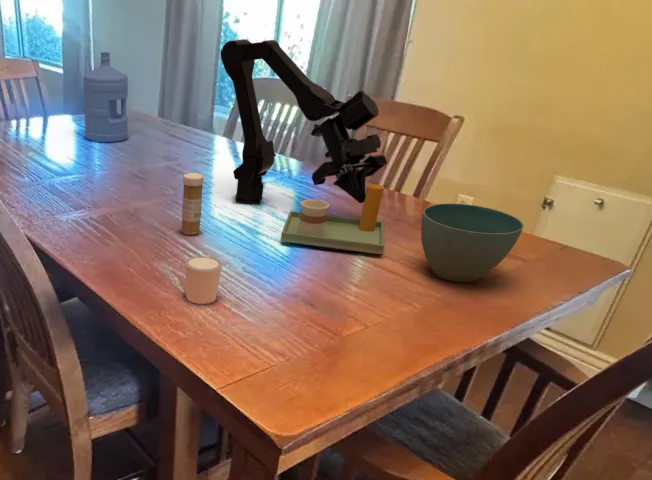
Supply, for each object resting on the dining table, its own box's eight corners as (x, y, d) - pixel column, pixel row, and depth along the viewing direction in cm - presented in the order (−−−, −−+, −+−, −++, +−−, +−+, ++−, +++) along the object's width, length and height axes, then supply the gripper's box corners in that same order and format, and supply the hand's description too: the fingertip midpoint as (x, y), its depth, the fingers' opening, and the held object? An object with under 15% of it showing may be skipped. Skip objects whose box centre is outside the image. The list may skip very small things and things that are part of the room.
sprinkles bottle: (194, 227, 147) (197, 171, 140) (203, 234, 144) (207, 176, 136) (177, 230, 145) (179, 173, 138) (186, 236, 142) (189, 178, 135)
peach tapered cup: (180, 289, 118) (182, 255, 115) (215, 288, 119) (218, 255, 115) (185, 305, 113) (187, 270, 109) (222, 305, 113) (225, 270, 109)
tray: (280, 241, 138) (287, 193, 132) (288, 218, 151) (295, 174, 145) (382, 254, 133) (393, 205, 127) (381, 229, 146) (392, 184, 140)
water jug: (80, 141, 218) (76, 54, 203) (91, 132, 231) (88, 49, 216) (123, 144, 216) (122, 56, 201) (131, 134, 229) (131, 51, 214)
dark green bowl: (389, 263, 131) (403, 208, 125) (453, 252, 137) (469, 198, 131) (455, 299, 117) (475, 238, 111) (522, 285, 123) (545, 226, 117)
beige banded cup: (294, 236, 139) (299, 206, 135) (297, 227, 144) (302, 198, 140) (323, 240, 137) (328, 209, 133) (325, 230, 142) (330, 201, 138)
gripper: (329, 125, 133) (356, 189, 131) (390, 118, 141) (416, 179, 139) (300, 154, 143) (324, 214, 141) (358, 146, 151) (382, 203, 149)
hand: (362, 202), depth 142 cm, fingers closed
